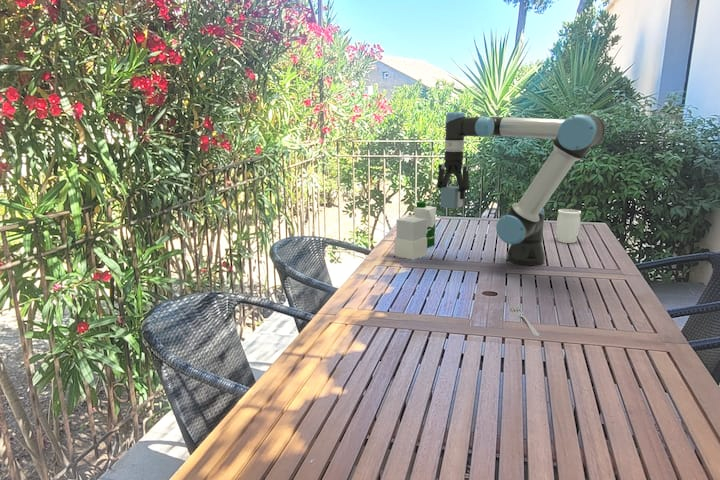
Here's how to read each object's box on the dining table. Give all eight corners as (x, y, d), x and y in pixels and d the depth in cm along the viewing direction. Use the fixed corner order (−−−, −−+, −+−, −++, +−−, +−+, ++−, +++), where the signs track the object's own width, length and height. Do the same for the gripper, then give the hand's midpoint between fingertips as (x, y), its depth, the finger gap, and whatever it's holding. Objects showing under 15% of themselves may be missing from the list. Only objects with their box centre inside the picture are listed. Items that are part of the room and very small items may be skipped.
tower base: (426, 255, 222) (427, 237, 220) (412, 260, 215) (412, 241, 213) (408, 251, 229) (409, 233, 227) (394, 255, 222) (394, 237, 220)
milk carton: (420, 242, 245) (421, 200, 240) (437, 244, 240) (438, 202, 235) (411, 245, 238) (412, 203, 233) (428, 248, 233) (429, 205, 228)
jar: (581, 244, 240) (585, 212, 236) (559, 244, 240) (562, 212, 237) (573, 238, 250) (576, 208, 247) (551, 238, 251) (554, 208, 247)
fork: (535, 341, 139) (536, 335, 139) (508, 308, 163) (508, 303, 162) (547, 341, 139) (548, 335, 139) (518, 308, 163) (518, 303, 162)
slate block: (463, 206, 216) (464, 187, 214) (454, 208, 211) (455, 189, 209) (449, 204, 221) (450, 186, 219) (440, 206, 216) (441, 187, 214)
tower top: (425, 237, 220) (426, 219, 219) (413, 241, 214) (413, 222, 212) (409, 234, 226) (409, 216, 225) (396, 237, 220) (396, 219, 218)
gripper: (429, 150, 214) (427, 204, 220) (470, 152, 201) (467, 209, 206) (439, 149, 220) (437, 202, 225) (480, 151, 206) (477, 207, 212)
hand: (452, 205), depth 216 cm, fingers closed on slate block, 7 cm apart
